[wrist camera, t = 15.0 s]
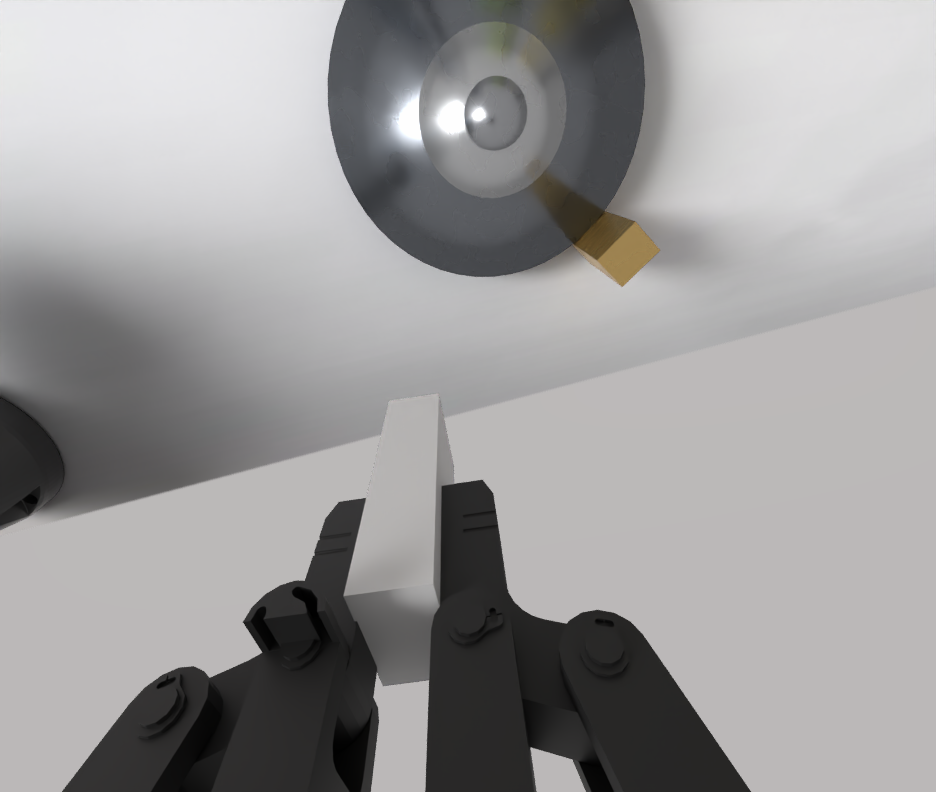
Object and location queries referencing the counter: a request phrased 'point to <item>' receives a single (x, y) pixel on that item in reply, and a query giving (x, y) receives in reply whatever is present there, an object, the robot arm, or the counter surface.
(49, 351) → the counter surface
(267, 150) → the counter surface
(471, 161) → the cover
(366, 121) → the turntable
